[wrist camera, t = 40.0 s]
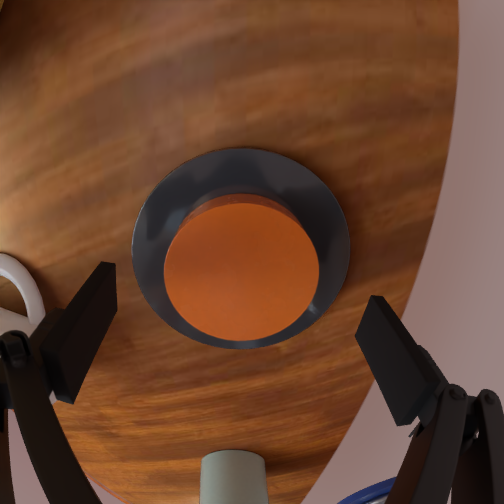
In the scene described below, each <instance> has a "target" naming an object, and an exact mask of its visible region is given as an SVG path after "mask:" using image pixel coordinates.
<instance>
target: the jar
mask: <svg viewBox="0 0 504 504" xmlns="http://www.w3.org/2000/svg"><path fill="white" fill-rule="evenodd" d="M199 504H269V498H268V488H267V478H266V468H265V461H264V459H263V458H262V457H261V456H259V455H258V454H255V453H252V452H249V451H243V450H223V451H217V452H213V453H210V454H208V455H206V456H205V457H204V458H203V459H202V460H201V471H200V495H199Z"/></svg>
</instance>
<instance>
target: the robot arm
mask: <svg viewBox="0 0 504 504" xmlns="http://www.w3.org/2000/svg"><path fill="white" fill-rule="evenodd" d="M116 312H117V293H116V265H115V263H109V262H102V261H101V263H100V264H99V265H98V266H97V268H96V269H95V270H94V271H93V273H92V274H91V275H90V277H89V278H88V279H87V280H86V282H85V283H84V284H83V286H82V287H81V288H80V290H79V291H78V292H77V294H76V295H75V296H74V298H73V299H72V300H71V302H70V303H69V304H68V306H67V307H66V309H61V308H54V309H53V310H51V311H50V312H48V313H47V314H46V315H45V317H44V318H43V319H42V321H41V322H40V323H39V325H38V326H37V328H36V329H35V330H34V331H33V333H32V334H31V335H30V337H29V338H28V336H27V334H26V333H24V332H23V331H19V330H10V331H7V332H5V333H3V334H2V335H1V336H0V357H1V358H0V504H15V498H14V491H13V484H12V477H11V466H10V455H9V437H8V409H14V412H15V415H16V418H17V422H18V425H19V428H20V431H21V434H22V437H23V440H24V443H25V446H26V449H27V452H28V454H29V457H30V460H31V462H32V465H33V467H34V470H35V472H36V474H37V477H38V479H39V482H40V484H41V486H42V488H43V490H44V493H45V494H46V497H47V499H48V501H49V503H50V504H102V502H101V501H100V499H99V497H98V496H97V494H96V492H95V491H94V489H93V488H92V486H91V484H90V482H89V481H88V479H87V477H86V475H85V473H84V472H83V470H82V468H81V466H80V464H79V462H78V460H77V459H76V457H75V455H74V453H73V451H72V449H71V447H70V445H69V443H68V440H67V438H66V436H65V434H64V432H63V430H62V427H61V425H60V423H59V421H58V418H57V416H56V414H55V411H54V409H53V406H52V404H51V401H50V399H49V397H50V395H51V393H52V391H53V392H54V395H55V397H56V400H60V401H63V402H66V403H70V404H74V402H75V399H76V397H77V395H78V392H79V390H80V388H81V385H82V383H83V381H84V379H85V376H86V374H87V372H88V370H89V368H90V365H91V363H92V361H93V359H94V357H95V355H96V353H97V350H98V348H99V346H100V344H101V342H102V340H103V338H104V336H105V334H106V332H107V330H108V328H109V326H110V324H111V322H112V320H113V318H114V316H115V314H116ZM355 338H356V340H357V342H358V344H359V346H360V348H361V350H362V352H363V354H364V356H365V358H366V360H367V362H368V364H369V366H370V369H371V371H372V373H373V375H374V377H375V379H376V381H377V383H378V385H379V388H380V390H381V391H382V394H383V396H384V398H385V401H386V403H387V405H388V407H389V409H390V412H391V414H392V416H393V418H394V421H395V423H396V425H397V426H402V425H409V424H411V423H412V422H413V421H414V419H415V418H416V417H417V416H418V417H419V419H420V422H419V423H418V425H417V426H416V427H415V428H414V430H413V431H412V432H411V434H410V435H409V437H411V436H412V435H413V434H414V435H413V437H412V440H411V443H410V446H409V448H408V451H407V453H406V456H405V458H404V461H403V463H402V466H401V468H400V470H399V473H398V475H397V477H396V479H395V482H394V484H393V486H392V488H391V490H390V492H387V493H384V494H382V495H379V496H377V497H374V498H372V499H370V500H368V501H366V502H364V503H362V504H447V501H448V497H449V494H450V490H451V487H452V491H451V504H504V414H503V410H502V406H501V402H500V399H499V397H498V396H497V395H496V393H494V392H493V391H491V390H488V389H483V390H481V392H480V393H479V395H478V396H477V397H474V396H468V395H467V393H466V392H465V390H464V389H463V388H461V387H460V386H458V385H455V384H449V383H448V381H447V380H446V378H445V376H444V375H443V373H442V372H441V370H440V369H439V367H438V366H436V363H435V362H434V360H432V357H431V356H430V354H429V353H428V351H426V350H425V349H424V348H423V347H422V346H421V345H417V344H416V342H415V341H414V339H413V338H412V336H411V335H410V333H409V332H408V331H407V329H406V328H405V326H404V325H403V324H402V322H401V321H400V319H399V318H398V316H397V315H396V314H395V312H394V311H393V309H392V308H391V307H390V305H389V304H388V303H387V301H386V300H385V299H384V297H383V296H375V295H371V296H370V299H369V302H368V304H367V307H366V309H365V312H364V315H363V317H362V320H361V322H360V324H359V327H358V329H357V332H356V334H355ZM478 432H479V434H478V438H477V437H476V434H477V433H478Z"/></svg>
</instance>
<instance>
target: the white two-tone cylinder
mask: <svg viewBox="0 0 504 504" xmlns="http://www.w3.org/2000/svg"><path fill="white" fill-rule="evenodd" d="M0 276H4V277H6V278H8V279H9V280H11V281H12V282H13V283H14V284H15V285H16V287H17V288H18V290H19V291H20V293H21V294H22V297H23V299H24V301H25V305H26V309H27V313H28V317H26V316H23V315H20V314H17V313H15V312H12V311H9V310H6V309H4V308H1V307H0V336H1V335H2V334H3V333H5V332H7V331H10V330H19V331H23V332H24V333H26V334H27V336H28V338H29V337H30V335H31V334H32V333H33V331H34V330H35V329H36V328H37V326H38V325H39V323H40V322H41V321H42V319H43V318H44V317H45V309H44V305H43V300H42V296H41V294H40V292H39V289H38V287H37V285H36V282H35V281H34V279H33V278H32V276H31V275H30V273H29V272H28V270H27V269H26V268H25V267H24V266H23V265H22V264H21V263H20V262H19V261H17V260H16V259H14V258H12V257H10V256H8V255H6V254H1V253H0ZM0 358H1V357H0ZM49 399H50V401H51V404H54V403H55V402H56V401H57V400H56V397H55V395H54V392H53V391H52V393H51V395H50V397H49Z"/></svg>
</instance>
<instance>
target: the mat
mask: <svg viewBox="0 0 504 504" xmlns="http://www.w3.org/2000/svg"><path fill="white" fill-rule="evenodd" d="M237 193H242V194H254V195H259V196H263V197H266V198H269V199H271V200H273V201H276V202H277V203H279V204H281V205H282V206H284V207H285V208H286V209H288V210H289V211H290V212H291V213H292V214H293V215H294V216H295V217H296V218H297V219H298V220H299V222H300V223H301V225H302V226H303V228H304V229H305V231H306V233H307V234H308V236H309V238H310V239H311V241H312V244H313V246H314V248H315V251H316V254H317V257H318V263H319V279H318V285H317V288H316V292H315V294H314V296H313V299H312V301H311V302H310V304H309V306H308V307H307V309H306V310H305V311H304V312H303V314H302V315H301V316H300V317H299V318H298V319H297V320H296V321H295V322H293V323H292V324H291V325H289V326H288V327H286V328H285V329H283V330H281V331H280V332H277V333H275V334H273V335H270V336H267V337H264V338H260V339H256V340H247V341H234V340H226V339H221V338H217V337H214V336H211V335H208V334H206V333H204V332H202V331H200V330H198V329H197V328H195V327H193V326H192V325H191V324H190V323H188V322H187V321H186V320H185V319H184V318H183V317H182V316H181V315H180V314H179V313H178V311H177V310H176V309H175V307H174V306H173V304H172V302H171V300H170V298H169V296H168V293H167V290H166V286H165V281H164V264H165V259H166V255H167V252H168V249H169V247H170V245H171V242H172V240H173V238H174V236H175V234H176V232H177V230H178V228H179V226H180V225H181V223H182V222H183V221H184V219H185V218H186V217H187V216H188V215H189V214H190V213H191V212H192V211H193V210H195V209H196V208H197V207H199V206H200V205H202V204H203V203H205V202H207V201H209V200H212V199H214V198H217V197H220V196H224V195H228V194H237ZM349 258H350V236H349V231H348V225H347V222H346V219H345V216H344V213H343V211H342V209H341V207H340V205H339V203H338V201H337V199H336V198H335V196H334V195H333V193H332V192H331V191H330V189H329V188H328V187H327V186H326V185H325V183H324V182H323V181H322V180H321V179H320V178H319V177H318V176H316V175H315V174H314V173H313V172H311V171H310V170H309V169H307V168H306V167H305V166H303V165H302V164H300V163H298V162H296V161H295V160H293V159H291V158H289V157H287V156H284V155H282V154H279V153H276V152H273V151H269V150H265V149H260V148H250V147H232V148H224V149H219V150H213V151H210V152H207V153H204V154H201V155H198V156H196V157H194V158H192V159H190V160H188V161H186V162H184V163H183V164H181V165H180V166H179V167H177V168H176V169H174V170H173V171H171V172H170V173H169V174H168V175H167V176H166V177H165V178H164V179H163V180H162V181H161V182H160V183H158V185H157V186H156V187H155V188H154V190H153V191H152V192H151V193H150V195H149V196H148V198H147V199H146V201H145V203H144V204H143V206H142V208H141V210H140V213H139V215H138V218H137V220H136V223H135V228H134V232H133V238H132V262H133V267H134V272H135V276H136V279H137V282H138V285H139V287H140V289H141V291H142V293H143V295H144V297H145V299H146V300H147V302H148V303H149V304H150V306H151V307H152V309H153V310H154V311H155V312H156V313H157V314H158V315H159V317H160V318H161V319H163V320H164V321H165V322H166V323H167V324H168V325H169V326H171V327H172V328H174V329H175V330H177V331H178V332H180V333H181V334H183V335H185V336H187V337H189V338H191V339H193V340H196V341H198V342H201V343H203V344H207V345H211V346H214V347H220V348H227V349H253V348H259V347H265V346H269V345H273V344H276V343H279V342H282V341H284V340H287V339H289V338H291V337H293V336H295V335H297V334H299V333H300V332H302V331H303V330H305V329H306V328H308V327H309V326H311V325H312V324H313V323H314V322H315V321H316V320H318V319H319V318H320V317H321V316H322V315H323V314H324V313H325V311H326V310H327V309H328V308H329V307H330V305H331V304H332V303H333V301H334V300H335V298H336V296H337V295H338V293H339V291H340V289H341V287H342V285H343V282H344V280H345V277H346V273H347V269H348V265H349Z"/></svg>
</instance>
